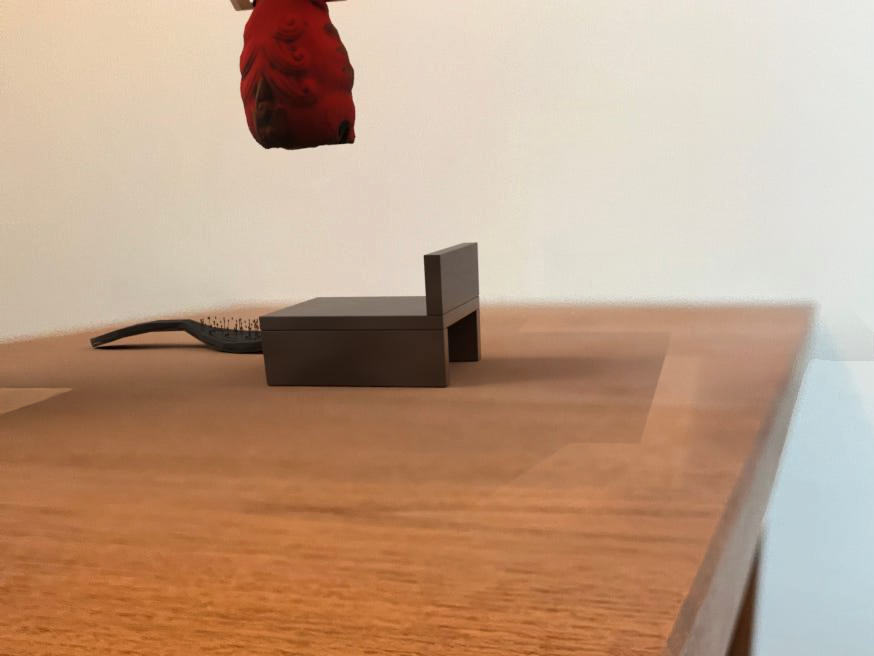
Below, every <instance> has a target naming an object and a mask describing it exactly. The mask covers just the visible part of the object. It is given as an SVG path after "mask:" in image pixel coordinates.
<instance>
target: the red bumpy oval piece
mask: <svg viewBox="0 0 874 656" xmlns="http://www.w3.org/2000/svg"><path fill="white" fill-rule="evenodd" d="M243 28H244V29H243V34H242V38H243V46H242V50H241V53H240V55H239V67H238V68H239V72H240V73H239V74H240V83H239V91H240V92H239V93H240V98H241V101H242V106H243V109H244V110H243V111H244V115H245V120H246V124H247V127H248V130H249V132H250V135H251V136H252V138H253V139H254V141H255V142H256V143H257V144H258V146H261V147H262V148H263V149H265V150H270V149H283V150H286V151H295V150H296V151H297V150H304V149H315V148H318V147H323V146H338V145H339V146H340V145H353V144H354V143H355V140H356V137H357V136H356V132H355V124H356V106H355V102H354V98H353V97H354V96H353V88H354V86H355V85H354V84H355V69H354V67H353V65H352V64H351V61H350V56H349V52H348V50H347V48H346V46H345V44H344V42H343V41H342V38H341V36H340V33H339V31H338V29H337V27H336V26H335V25H334V24H333V22H332V20H331V17H330V10H329V5H328V3H327V2H324V0H256V6H255V8H254V9H253V10H251V13H250V15H249V17H248V20H247V21H246V23H245V25H244V27H243Z"/></svg>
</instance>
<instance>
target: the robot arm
mask: <svg viewBox="0 0 874 656" xmlns="http://www.w3.org/2000/svg"><path fill="white" fill-rule="evenodd" d="M229 1H230V3H231V5H232V7H233V9H234V11H236V12H242V11H253V9H254V8H255V6H256V0H229ZM347 1H348V0H324V2H326V3H336V2H337V3H338V2H347Z"/></svg>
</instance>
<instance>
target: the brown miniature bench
mask: <svg viewBox="0 0 874 656" xmlns="http://www.w3.org/2000/svg"><path fill="white" fill-rule="evenodd" d="M478 245H479V243H478V242H477V241H476V242H461V243H458V244H455V245H451V246H449V247H446V248H442V249H439V250H435V251H432V252H430V253H426V254H423V275H424V290H425V291H424V293H425V295H395V296H393V295H391V296H390V295H389V296H386V295H385V296H383V295H382V296H316V297H313V298H311V299H308V300H305V301H301V302H298V303H295V304H292V305H289V306H287V307H284V308H280V309H278V310H275V311H272V312H268V313H265V314H262V315H259V316H258V325H259V324H260V326H259V331H261V340H262V348H263V350H262V355H263V363H264V373H265V381H266V385H267V386H297V387H298V386H302V387H304V386H305V387H306V386H307V387H406V388H410V387H413V388H416V387H417V388H421V387H422V388H423V387H424V388H446V387H448V386H449V385H450V384H451V378H450V377H451V375H450V362H479V361H480V360H481V359H482V339H481V337H482V336H481V335H482V334H481V310H480V307H481V306H480V276H479V246H478Z"/></svg>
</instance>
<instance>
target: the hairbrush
mask: <svg viewBox="0 0 874 656" xmlns="http://www.w3.org/2000/svg"><path fill="white" fill-rule="evenodd" d="M214 319H215V320H213V322H212V323H213V324H211V317H210V316H207V320H208V324H207V323H206V322H205V318H200V319H199V321H200V322H199V321H197V320H194V319H191V318H183V319H181V318H179V319H156V320H150V321H145V322H140V323H135V324H132V325H129V326H126V327H123V328H119V329H115V330H112V331H109V332H106V333H104V334H100V335H98V336H95V337H91V338H90V339H89V341H90V344H91V345H90V346H91V348H92V347H93V348H96V347H97V348H98V347H99V346H104V345H107V344H110V343H113V342H115V341H119V340H122V339H125V338H128V337H129V338H130V337H135V336H139V335H144V334H148V333H149V334H150V333H163V332H164V333H165V332H168V333H169V332H185V333H187V334H188V335H190V336H191V337H193V338H195V339H196V340H198V341H199V342H200V343H203V344H204V345H207V346H209V347H210V348H211V349H214V350H217V351H223V352H229V353H234V354H242V353H243V354H244V353H254V352H255V353H256V352H263V348H262V340H261V331H262V330H260V324H259V318H254V319H252V322H251V320H250V318H248V325H245V326H244V328H245V329H244V328H243V322H244V324H247V323H246V322H247V321H246V320H244V321H243V322H242V317H240V318H238V319H235V322H236V323H235V324H234V327H233V328H230V325H229V324H230V319H229V318H228V319H227V324H228V325H227V326H226V320H225V319H226V318H225V317H223V318H222V319H223V325H222V320H220V321H219V322H216V320H217V316H214ZM231 320H232V321H233V320H234V317H233V316H232V317H231ZM250 322H251V323H250ZM219 323H220V327H219ZM238 327H239V329H238ZM247 329H248V330H247Z"/></svg>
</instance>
